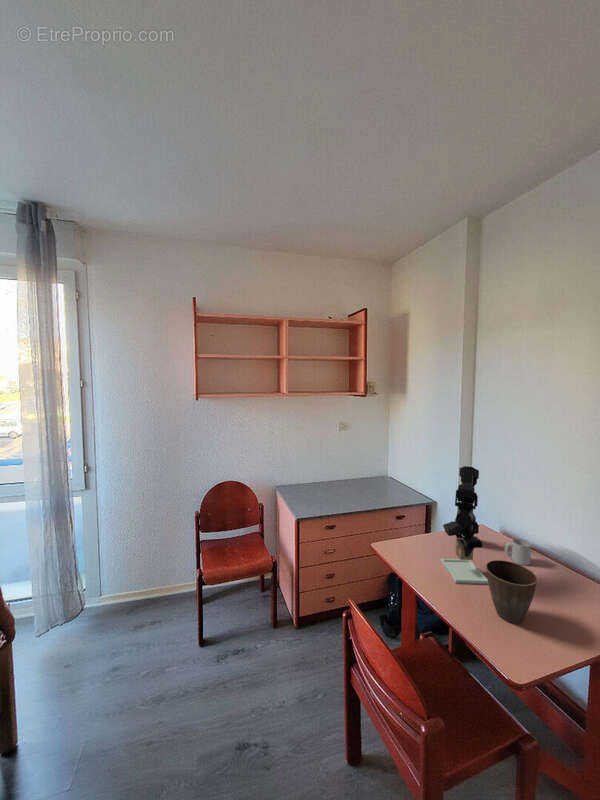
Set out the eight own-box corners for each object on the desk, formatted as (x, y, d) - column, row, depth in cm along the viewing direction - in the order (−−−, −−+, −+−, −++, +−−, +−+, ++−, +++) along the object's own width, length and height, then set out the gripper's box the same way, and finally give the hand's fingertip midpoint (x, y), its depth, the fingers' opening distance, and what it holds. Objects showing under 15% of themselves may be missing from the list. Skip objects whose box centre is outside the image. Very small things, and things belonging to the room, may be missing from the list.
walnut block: (455, 553, 142) (456, 537, 142) (467, 553, 142) (467, 538, 141) (460, 559, 137) (461, 543, 137) (472, 560, 137) (473, 543, 136)
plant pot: (524, 639, 103) (527, 590, 102) (476, 612, 115) (478, 568, 114) (542, 619, 112) (544, 574, 111) (495, 596, 124) (497, 555, 123)
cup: (532, 567, 144) (533, 547, 144) (506, 562, 148) (506, 543, 147) (527, 559, 151) (528, 540, 150) (502, 554, 154) (503, 536, 154)
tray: (440, 561, 148) (440, 558, 148) (469, 562, 147) (470, 559, 147) (455, 583, 132) (456, 579, 132) (488, 584, 131) (488, 580, 131)
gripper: (437, 508, 148) (436, 542, 149) (455, 527, 129) (454, 565, 130) (462, 509, 148) (461, 542, 148) (484, 527, 129) (482, 565, 130)
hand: (464, 553), depth 139 cm, fingers closed on walnut block, 5 cm apart
